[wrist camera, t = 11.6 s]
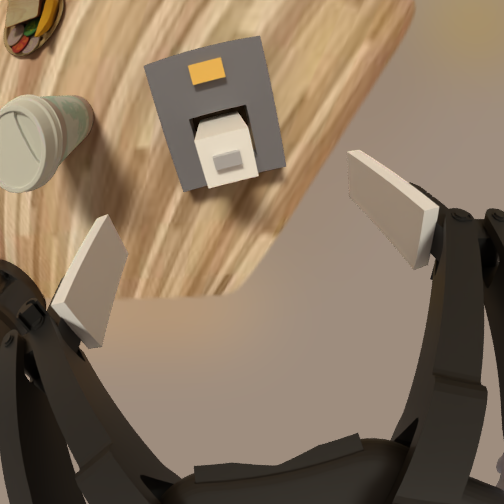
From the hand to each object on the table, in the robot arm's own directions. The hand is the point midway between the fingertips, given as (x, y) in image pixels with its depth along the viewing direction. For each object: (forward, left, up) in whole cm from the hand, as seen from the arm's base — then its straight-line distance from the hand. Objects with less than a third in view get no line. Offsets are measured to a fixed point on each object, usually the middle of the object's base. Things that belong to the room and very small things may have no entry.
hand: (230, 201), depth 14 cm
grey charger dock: (0, +2, -17) cm, 18 cm away
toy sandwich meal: (-17, +23, -18) cm, 34 cm away
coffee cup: (-16, +7, -18) cm, 25 cm away
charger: (0, 0, -17) cm, 17 cm away
